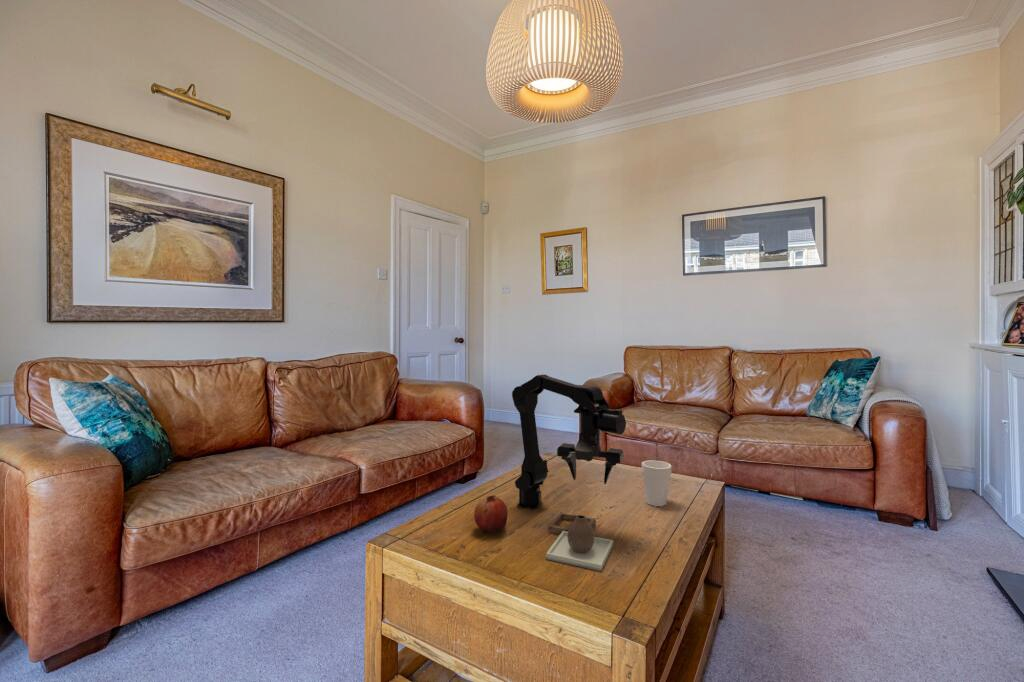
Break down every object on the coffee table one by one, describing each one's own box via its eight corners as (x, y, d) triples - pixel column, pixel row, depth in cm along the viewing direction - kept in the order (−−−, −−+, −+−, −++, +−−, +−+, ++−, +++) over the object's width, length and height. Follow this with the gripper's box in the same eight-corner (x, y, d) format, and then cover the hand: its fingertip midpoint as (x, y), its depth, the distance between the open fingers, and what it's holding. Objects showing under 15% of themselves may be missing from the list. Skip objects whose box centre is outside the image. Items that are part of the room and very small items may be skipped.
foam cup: (639, 505, 148) (640, 466, 148) (642, 496, 157) (643, 459, 157) (670, 510, 145) (670, 470, 144) (671, 500, 153) (672, 462, 153)
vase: (593, 557, 113) (594, 523, 113) (566, 555, 115) (566, 521, 114) (594, 544, 120) (594, 512, 120) (568, 542, 121) (568, 510, 121)
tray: (546, 559, 114) (546, 553, 114) (563, 536, 127) (563, 530, 126) (601, 571, 108) (601, 565, 108) (613, 545, 121) (613, 540, 121)
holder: (548, 532, 129) (548, 526, 129) (560, 517, 139) (560, 511, 139) (586, 539, 124) (586, 533, 124) (595, 524, 134) (595, 518, 134)
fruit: (501, 541, 124) (501, 505, 123) (468, 535, 127) (468, 500, 126) (513, 525, 134) (513, 491, 133) (482, 520, 137) (482, 488, 137)
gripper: (551, 432, 129) (550, 485, 130) (616, 438, 122) (616, 495, 122) (562, 424, 140) (562, 474, 140) (623, 430, 132) (623, 482, 132)
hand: (589, 481), depth 133 cm, fingers open, 9 cm apart
